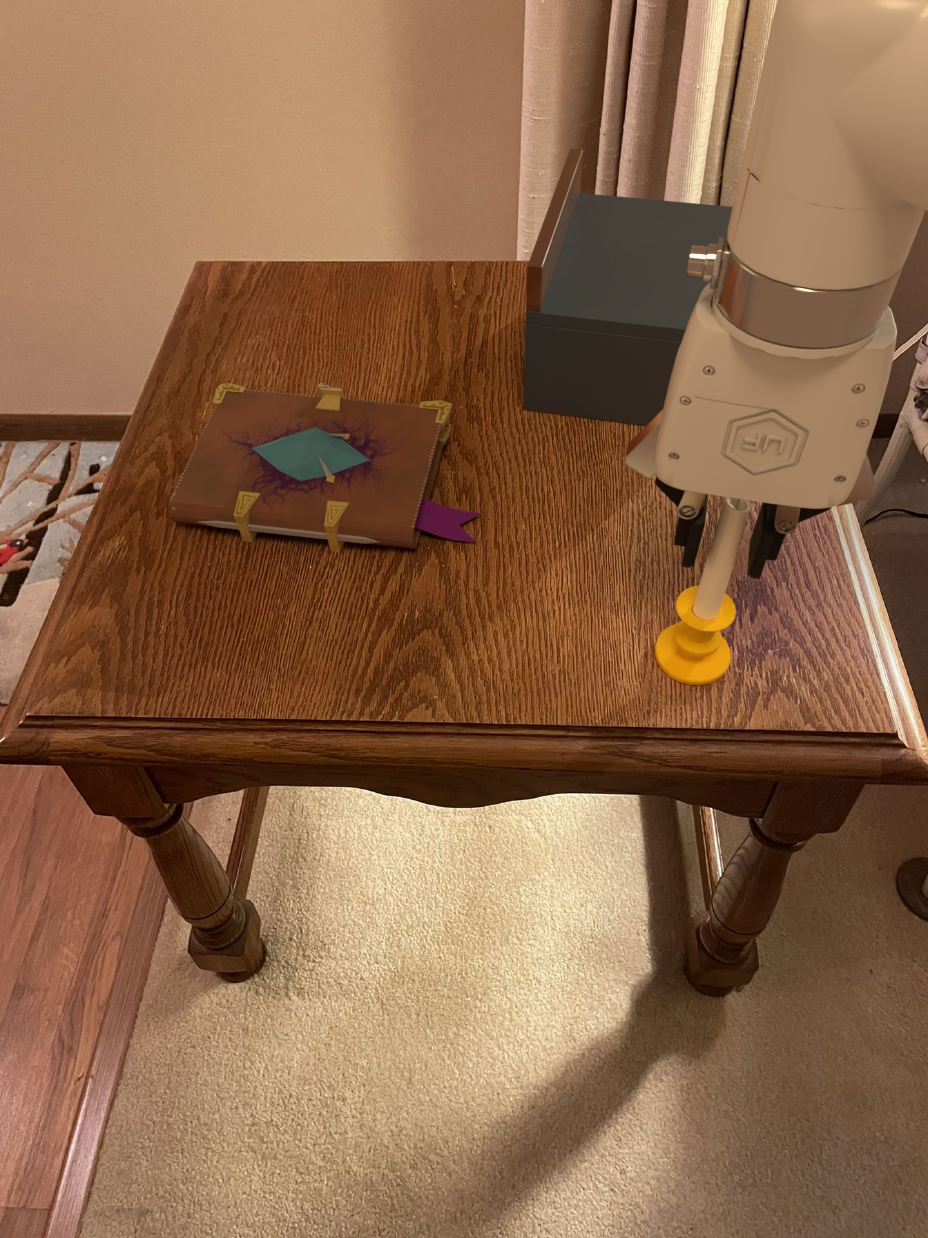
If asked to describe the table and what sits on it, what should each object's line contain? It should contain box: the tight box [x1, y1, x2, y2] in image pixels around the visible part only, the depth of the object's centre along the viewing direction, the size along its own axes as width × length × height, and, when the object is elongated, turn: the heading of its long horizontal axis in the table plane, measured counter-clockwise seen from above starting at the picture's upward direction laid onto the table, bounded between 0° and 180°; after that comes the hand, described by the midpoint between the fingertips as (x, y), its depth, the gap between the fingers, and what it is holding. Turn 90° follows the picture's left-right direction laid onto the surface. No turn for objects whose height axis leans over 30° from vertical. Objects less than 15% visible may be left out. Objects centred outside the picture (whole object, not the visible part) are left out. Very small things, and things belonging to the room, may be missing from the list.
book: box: [168, 381, 483, 553], centre depth 73 cm, size 16×25×5 cm, turn 80°
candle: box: [654, 497, 751, 686], centre depth 56 cm, size 5×5×16 cm
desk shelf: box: [522, 148, 733, 427], centre depth 79 cm, size 16×20×14 cm
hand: (721, 554), depth 54 cm, fingers open, 3 cm apart
